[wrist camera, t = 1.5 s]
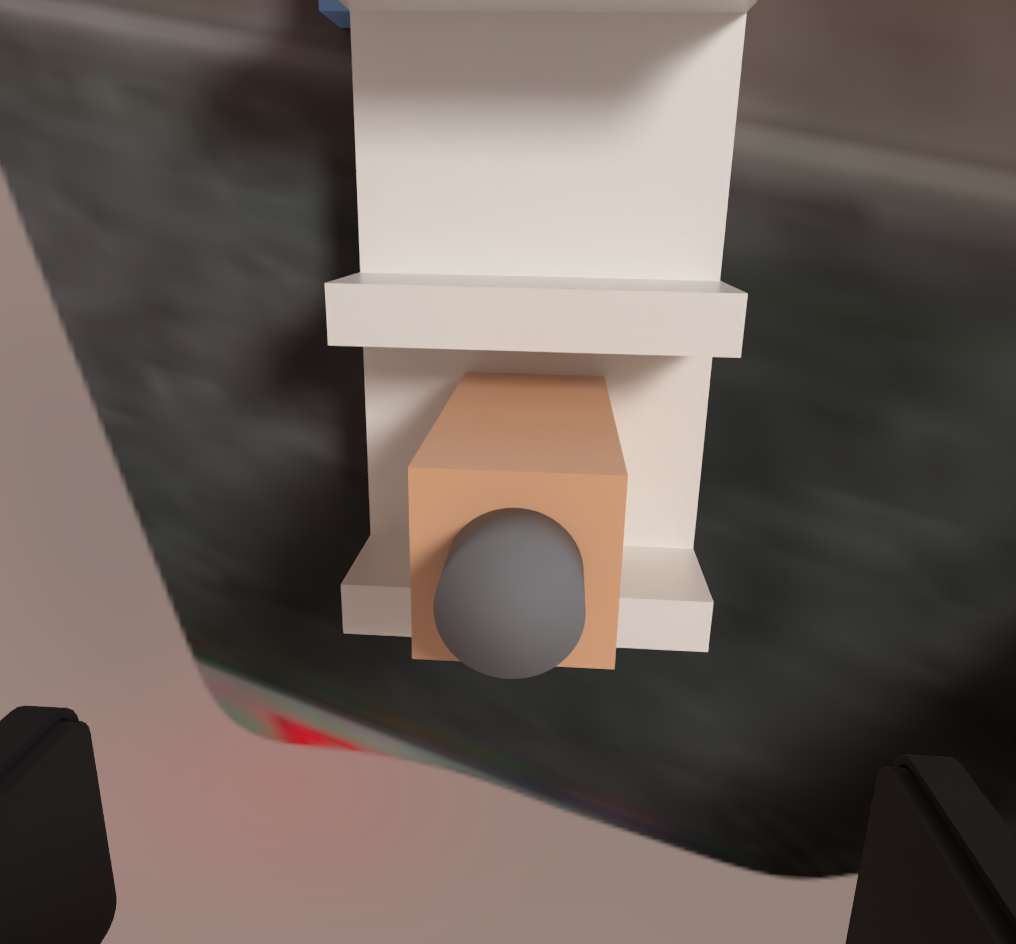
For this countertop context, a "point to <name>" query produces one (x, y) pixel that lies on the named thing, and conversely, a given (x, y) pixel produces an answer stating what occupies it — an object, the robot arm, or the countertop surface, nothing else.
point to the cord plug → (518, 526)
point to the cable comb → (544, 253)
